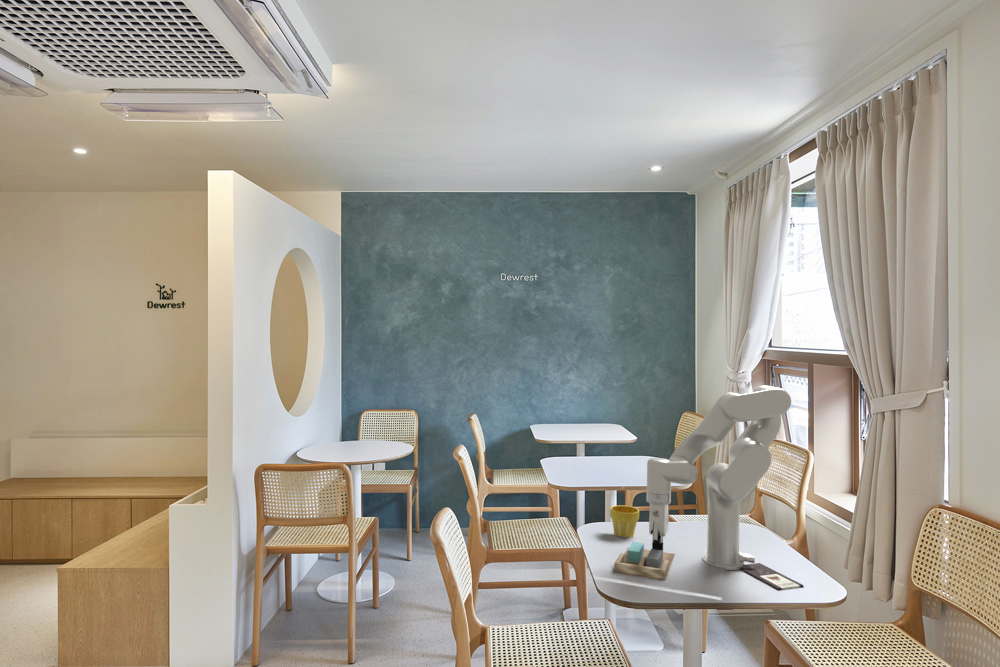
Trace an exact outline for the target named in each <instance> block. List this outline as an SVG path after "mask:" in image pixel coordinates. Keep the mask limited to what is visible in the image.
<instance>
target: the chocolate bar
mask: <svg viewBox="0 0 1000 667" xmlns="http://www.w3.org/2000/svg"><path fill="white" fill-rule="evenodd" d="M739 570H740V571H742V572H743V573H746V574H747V575H749V576H750V577H753V578H755V579H756V580H758V581H760V582H761V583H764V584H766V585H767V586H769V587H771V588H773V589H775V590H777V591H783V590H790V589H797V588H798V589H799V588H804V584H802V583H800V582H798V581H796V580H794V579H792V578H790V577H788V576H786V575H784V574H782V573H780V572H778V571H776V570H774V569H772V568H770V567H769V566H766V565H765V564H763V563H760V562H758V563H747V564H744V567H742V568H741V569H739Z"/></svg>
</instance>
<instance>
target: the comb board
mask: <svg viewBox="0 0 1000 667" xmlns="http://www.w3.org/2000/svg"><path fill="white" fill-rule="evenodd" d="M629 547H630V546H628V548H627V549H625V550H626V551H625V552H624V553H619V555H618V556H617V558H616V559H615V562H614V563H613V564H614V567H613V568H614V569H613V570H614V571H613V573H617V574H623V575H629V576H636V577H640V578H641V577H642V578H647V579H654V580H659V581H660V580H661V581H667V578H668V576H669V573H670V570H671V567H672V564H673V562H674V557H675V556H676V554H675V553H671V552H664V551H663V562H662V564H661V567H660V569H659V568H653V567H646V558H647V556H648V554H649V552H650V550H651V549H644V554H643V556H642V558H641V560H640V562H639V563H634V562H628V549H629Z"/></svg>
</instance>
